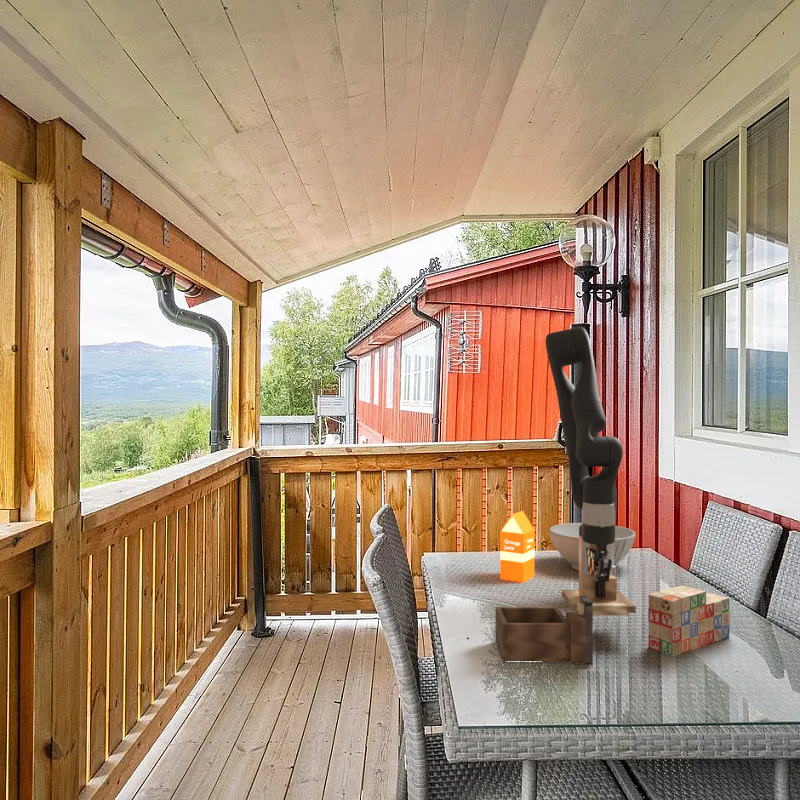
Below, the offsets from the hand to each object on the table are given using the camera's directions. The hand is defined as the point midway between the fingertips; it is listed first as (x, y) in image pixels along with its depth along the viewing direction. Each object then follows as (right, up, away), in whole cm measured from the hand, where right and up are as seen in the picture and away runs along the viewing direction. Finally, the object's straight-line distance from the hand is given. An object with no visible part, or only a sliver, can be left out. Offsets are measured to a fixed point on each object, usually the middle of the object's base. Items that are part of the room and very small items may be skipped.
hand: (598, 595), depth 162 cm
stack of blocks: (+19, -10, -5) cm, 22 cm away
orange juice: (-10, -9, +50) cm, 52 cm away
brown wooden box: (-15, -9, -11) cm, 21 cm away
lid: (0, -3, 0) cm, 3 cm away
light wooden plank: (-4, 0, -16) cm, 16 cm away
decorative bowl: (+16, -9, +62) cm, 64 cm away
